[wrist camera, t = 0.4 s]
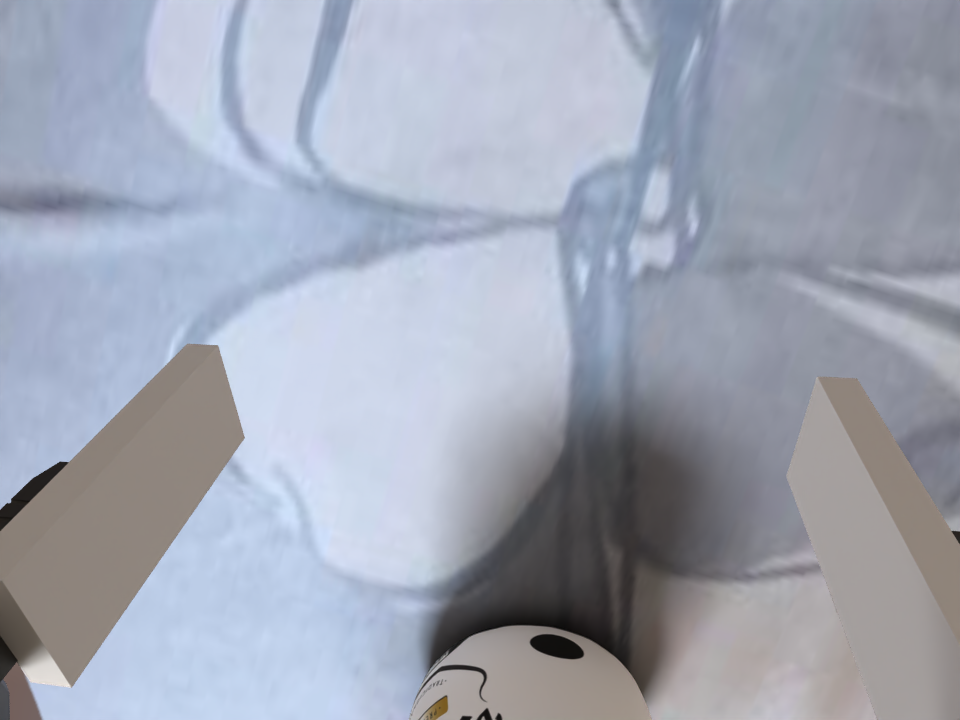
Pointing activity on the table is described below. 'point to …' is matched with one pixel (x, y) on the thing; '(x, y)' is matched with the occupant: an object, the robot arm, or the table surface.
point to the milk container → (528, 679)
